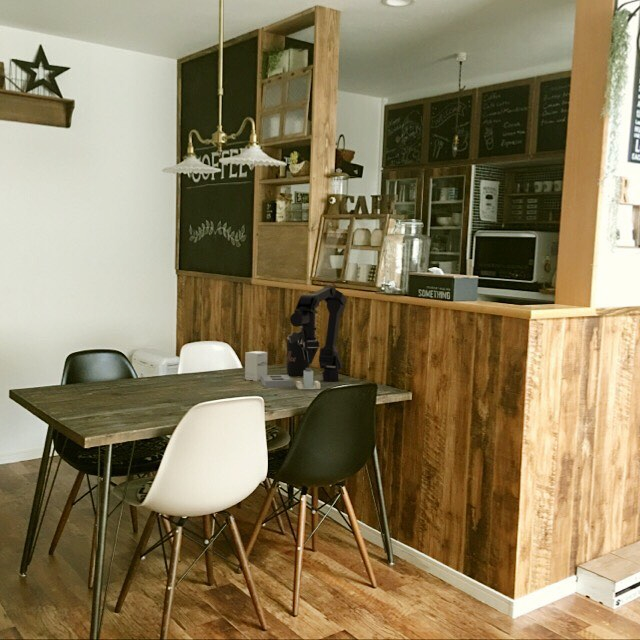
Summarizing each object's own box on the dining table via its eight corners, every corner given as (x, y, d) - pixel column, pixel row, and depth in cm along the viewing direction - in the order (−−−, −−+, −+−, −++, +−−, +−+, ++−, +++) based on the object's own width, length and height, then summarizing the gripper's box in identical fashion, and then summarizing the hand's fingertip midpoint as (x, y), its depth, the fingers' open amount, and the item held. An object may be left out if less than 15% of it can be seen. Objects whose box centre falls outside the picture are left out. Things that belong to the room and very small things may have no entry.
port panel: (287, 382, 324) (287, 374, 324) (293, 388, 308) (293, 379, 308) (260, 383, 322) (260, 374, 321) (265, 389, 306) (265, 380, 306)
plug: (311, 386, 309) (311, 367, 309) (313, 388, 306) (313, 368, 305) (303, 386, 309) (303, 367, 308) (304, 388, 305) (305, 368, 305)
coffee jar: (284, 373, 350) (284, 336, 348) (305, 372, 353) (306, 335, 351) (290, 377, 339) (290, 338, 338) (312, 376, 343) (312, 338, 341)
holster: (317, 387, 312) (317, 380, 312) (320, 390, 305) (320, 383, 305) (296, 388, 310) (296, 381, 310) (299, 391, 303) (299, 383, 303)
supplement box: (256, 381, 326) (256, 353, 325) (244, 379, 331) (244, 352, 330) (267, 379, 332) (267, 351, 331) (255, 377, 337) (255, 350, 335)
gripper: (286, 323, 313) (286, 359, 314) (292, 327, 295) (292, 365, 296) (311, 322, 315) (311, 358, 316) (319, 326, 297) (319, 365, 298)
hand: (308, 362), depth 307 cm, fingers open, 9 cm apart
